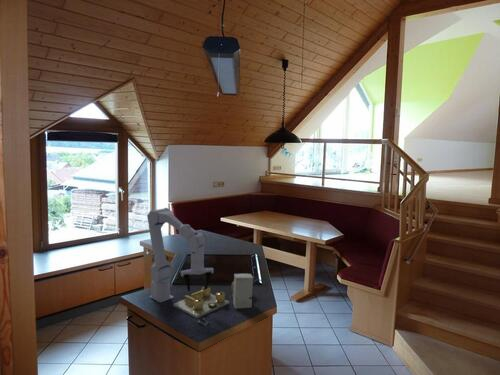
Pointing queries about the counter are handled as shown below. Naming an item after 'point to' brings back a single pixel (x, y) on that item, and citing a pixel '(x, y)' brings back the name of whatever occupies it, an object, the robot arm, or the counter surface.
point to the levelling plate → (208, 305)
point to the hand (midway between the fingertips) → (197, 289)
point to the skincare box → (243, 290)
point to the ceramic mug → (232, 288)
